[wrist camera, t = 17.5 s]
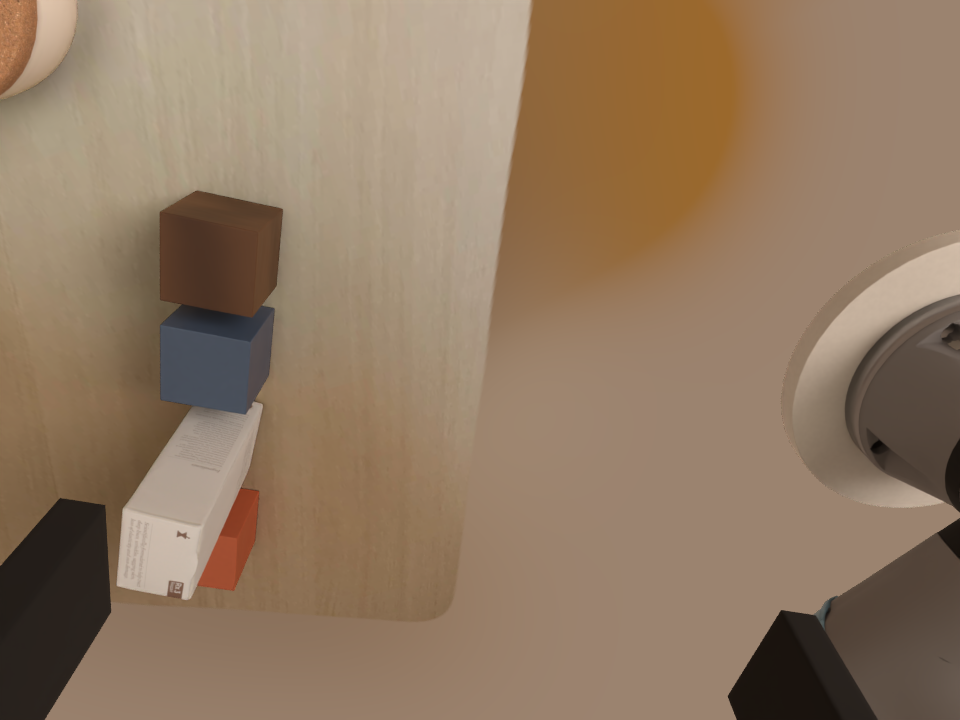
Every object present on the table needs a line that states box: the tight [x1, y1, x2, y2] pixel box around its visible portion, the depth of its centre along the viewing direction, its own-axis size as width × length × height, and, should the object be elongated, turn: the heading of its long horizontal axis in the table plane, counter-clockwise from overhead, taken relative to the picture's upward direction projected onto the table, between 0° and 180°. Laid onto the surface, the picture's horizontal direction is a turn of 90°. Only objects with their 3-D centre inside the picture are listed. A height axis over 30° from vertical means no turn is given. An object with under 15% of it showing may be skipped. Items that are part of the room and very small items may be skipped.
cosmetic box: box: [116, 401, 263, 600], centre depth 39 cm, size 6×4×12 cm
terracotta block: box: [197, 488, 259, 591], centre depth 46 cm, size 5×5×5 cm
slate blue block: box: [160, 304, 274, 415], centre depth 39 cm, size 5×5×5 cm
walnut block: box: [160, 191, 283, 318], centre depth 36 cm, size 5×5×5 cm
